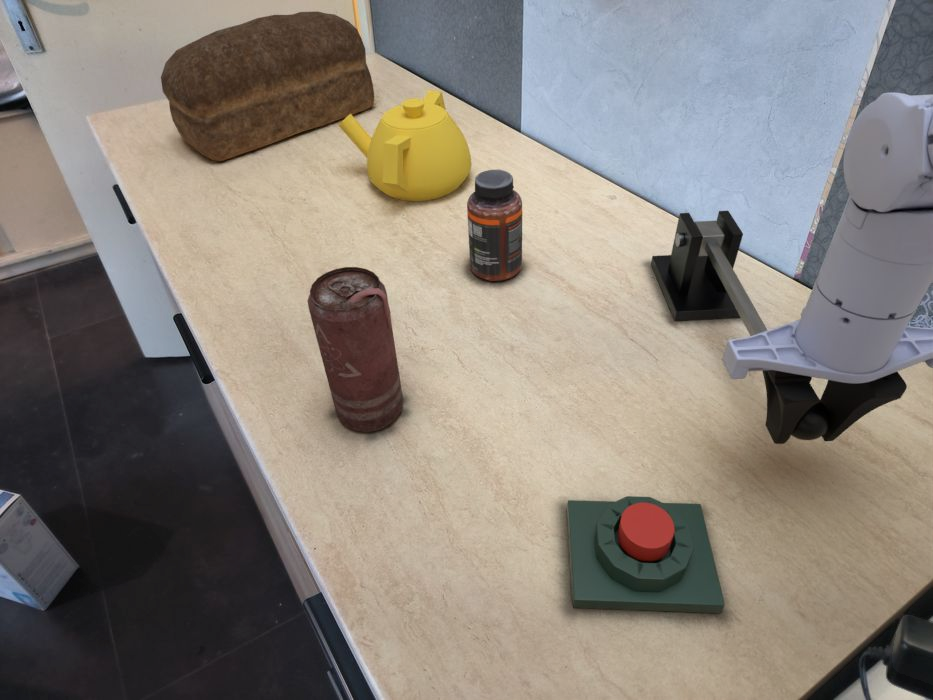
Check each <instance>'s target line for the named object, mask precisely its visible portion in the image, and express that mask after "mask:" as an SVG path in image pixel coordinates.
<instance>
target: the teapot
mask: <svg viewBox="0 0 933 700" xmlns="http://www.w3.org/2000/svg"><path fill="white" fill-rule="evenodd" d="M337 126H338V127H339V129H341V130H342V132H343V133H344V134H345V135H346V136H347V137H348V138H349V139H350V141H351V142H352V143H353V144H354V146H356V147H357V148H358V150H359V151H360V152H361V153H362V154H363V156H364V157H365V158H366V172H367V176H368V178H369V181H371V183H372V184H373V185H374V186H375V187H376V188H378V190H380V191H381V192H382V193H384V194H385V195H386V196H389V197H391V198H392V199H393V198H394V199H395V200H396V199H397V200H400V201H401V200H402V201H406V202H407V201H408V202H425V201H430V200H436V199H439V198H440V199H441V198H442V197H446V196H448V195H450V194H451V193H453V192H454V191H456V190H457V189H458V188H459V187H460V186H461V185H462V184H463V182H465V180H466V179H467V178H468V176H469V174H470V172H471V170H472V156H471V150H470V148H469V145H468V142H467V139H466V138H465V135H464V133H463V132H462V130H461V129H460V127H459V125H458V124H457V123H456V121H455V120H454V119H453V117H452V116H451V114H450V113H449V112H447V110H446V105H445V100H444V96H443V92H442V91H441V90H431V89H429V90H428V91H427V92H426V94H425V95H424V97H423V99H422V98H419V97H418V98H417V97H412V98H407V99H405V100H403V101H402V103H401V104H399V105H396V106H394V107H391V108H390V109H388V110H386V112H385V113H383V115H382V116H381V118H380V119H379V122H378V123H377V125H376V127H375V130H374V132H373V134H372V136H370V134H369V133H368V132H367V131H366V129H364V127H363V126H362V125H361V124H360V122H359V121H358V120H357V119H356V118H355V117H354V115H351V114H350V115H348V116H347V117H344V118H343V120H341V121H340V122H339V123H338V124H337Z"/></svg>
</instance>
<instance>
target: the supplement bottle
mask: <svg viewBox="0 0 933 700" xmlns="http://www.w3.org/2000/svg"><path fill="white" fill-rule="evenodd" d="M514 188H515V187H514V177H513V175H512V174H511V173H510V172H508V171H506V170H503V169H487V170H484V171H482V172H479V173H478V174H477V175H476V176H475V177H474V191H473V192H472V193H471V194H470V195H469V197H468V199H467V202H466V211H467V216H466V217H467V231H468V250H469V251H468V253H469V263H470V264H469V266H470V270H471V271H472V273H473V274H474V275H475V276H476V277H478V278H480V279H482V280H486V281H492V282H493V281H495V282H499V281H504V280H509V279H511V278H513V277H514V276H516V275H517V274H519V272H520V270H521V268H522V264H523V200H522V196H521V195H520V194H519V193H518V192H517V191H516V190H514Z"/></svg>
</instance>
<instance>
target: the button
mask: <svg viewBox="0 0 933 700" xmlns="http://www.w3.org/2000/svg"><path fill="white" fill-rule="evenodd" d="M674 530H675V528H674V523H673V521H672V519H671V517H670V516H669V514H668V513H667V512H666V511H665V510H663V509H662V508H660V507H658V506H656V505H654V504H651V503H636V504H633V505H631V506H629V507H628V508H626V509H625V511H624V512H623V514H622V516H621V520H620V525H619V529H618V540H619V543H620V545H621V547H622V548H623V550H624V551H625V552H626V553H627V554H629V555H630V556H631V557H633V558H635V559H638V560H641V561H656V560H659V559H661V558H662V557H664V556H665V555H666V554H667V552H668V551H669V548H670V545H671V542H672V539H673V536H674Z"/></svg>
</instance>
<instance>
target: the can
mask: <svg viewBox="0 0 933 700" xmlns="http://www.w3.org/2000/svg"><path fill="white" fill-rule="evenodd" d="M307 306H308V307H307V308H308V311H309V314H310V319H311V322H312V326H313V330H314V334H315V338H316V341H317V345H318V350H319V353H320V357H321V360H322V363H323V364H322V365H323V369H324V373H325V376H326V379H327V384H328V386H329V391H330V394H331V395H330V396H331V399H332V403H333V406H334V410H335V414H336V417H337V418H338V420H339V421H340V422H341V423H342V424H343V425H344V426H346V427H347V428H349V429H350V430H352V431H353V430H354V431H357V432H361V433H366V432H368V433H369V432H370V433H371V432H376V431H380V430H383V429H384V428H386V427H388V426H390V425H391V424H392V423H393V422H394V421H396V420H397V418H398V417H399V415H400V414H401V412H402V410H403V405H404V396H403V389H402V383H401V382H402V381H401V377H400V370H399V363H398V356H397V350H396V344H395V343H396V342H395V337H394V332H393V324H392V317H391V309H390V305H389V298H388V292H387V288H386V286H385V284H384V283H383V282H382V280H380V278H379V276H378V275H377V274H376V273H375V272H374V271H372V270H369V269H367V268H364V267H360V266H359V267H358V266H344V267H339V268H335V269H332V270H329V271H326V272H325V273H323V274H322V275H320V276H319V277H317V278H316V279H315V280H314V281H313V283H312V284H311V286H310V290H309V295H308V298H307Z"/></svg>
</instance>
